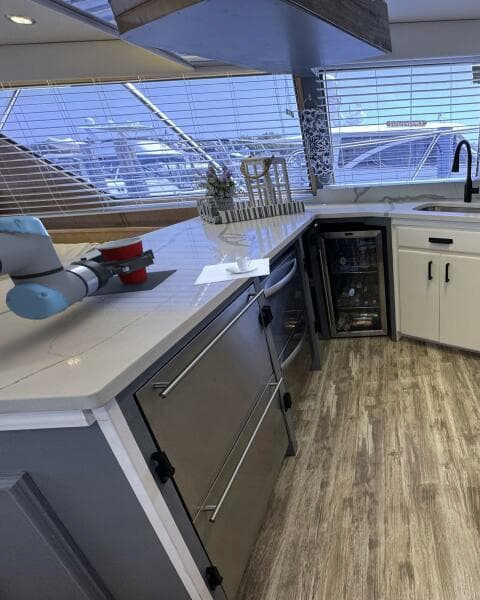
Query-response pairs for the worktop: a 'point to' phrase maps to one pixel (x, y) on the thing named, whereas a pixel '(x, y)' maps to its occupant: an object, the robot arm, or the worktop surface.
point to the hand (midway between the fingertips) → (129, 255)
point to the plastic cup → (125, 256)
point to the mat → (118, 287)
